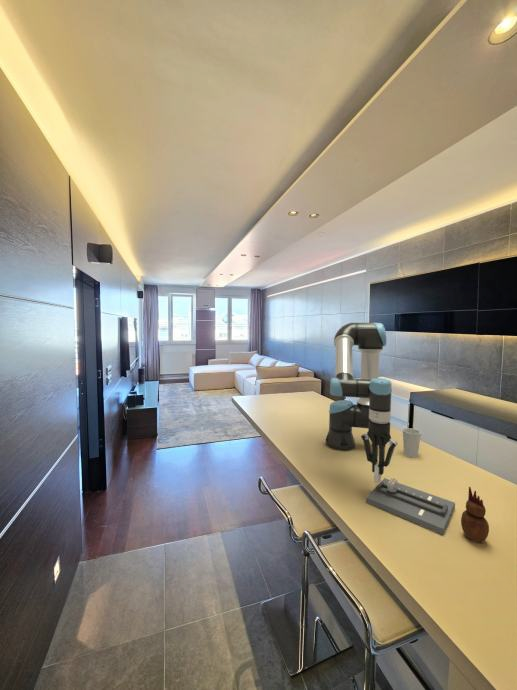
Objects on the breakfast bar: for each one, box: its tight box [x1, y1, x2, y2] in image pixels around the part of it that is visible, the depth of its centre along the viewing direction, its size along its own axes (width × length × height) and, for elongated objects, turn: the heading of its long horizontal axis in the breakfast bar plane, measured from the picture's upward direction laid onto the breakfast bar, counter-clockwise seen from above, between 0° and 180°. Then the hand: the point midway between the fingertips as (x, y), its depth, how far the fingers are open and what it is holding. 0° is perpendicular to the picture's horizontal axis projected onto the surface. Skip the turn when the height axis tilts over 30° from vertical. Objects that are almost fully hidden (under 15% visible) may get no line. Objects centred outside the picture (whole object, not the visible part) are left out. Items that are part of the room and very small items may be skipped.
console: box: [365, 478, 456, 536], centre depth 104 cm, size 24×18×4 cm
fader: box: [387, 477, 398, 495], centre depth 108 cm, size 3×4×5 cm, turn 137°
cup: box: [402, 427, 422, 459], centre depth 144 cm, size 8×8×12 cm
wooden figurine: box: [460, 486, 490, 544], centre depth 88 cm, size 7×6×15 cm
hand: (377, 481), depth 112 cm, fingers closed
